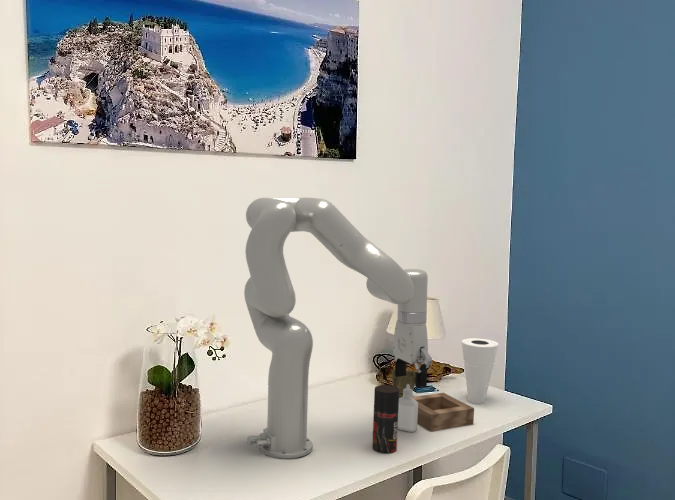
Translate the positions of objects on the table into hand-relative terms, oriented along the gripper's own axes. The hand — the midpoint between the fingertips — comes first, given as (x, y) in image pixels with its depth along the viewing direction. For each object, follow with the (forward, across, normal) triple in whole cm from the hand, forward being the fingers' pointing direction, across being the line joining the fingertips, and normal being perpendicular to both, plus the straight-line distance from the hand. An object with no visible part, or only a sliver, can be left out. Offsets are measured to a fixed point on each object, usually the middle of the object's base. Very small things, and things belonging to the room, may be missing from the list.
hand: (410, 381), depth 175 cm
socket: (+13, -3, +11) cm, 17 cm away
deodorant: (+13, +9, -13) cm, 20 cm away
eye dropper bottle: (+13, 0, -1) cm, 13 cm away
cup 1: (+13, -22, +12) cm, 28 cm away
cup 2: (+14, -11, +31) cm, 36 cm away
